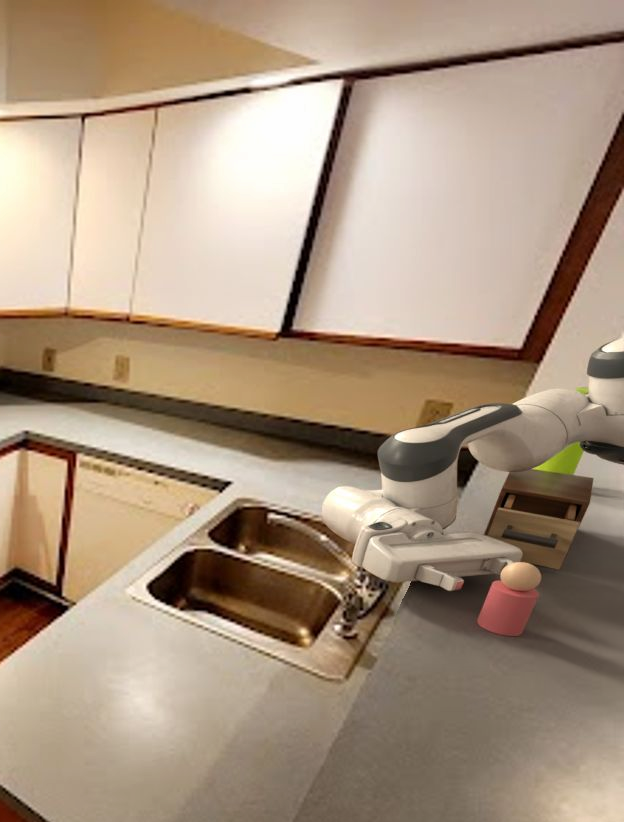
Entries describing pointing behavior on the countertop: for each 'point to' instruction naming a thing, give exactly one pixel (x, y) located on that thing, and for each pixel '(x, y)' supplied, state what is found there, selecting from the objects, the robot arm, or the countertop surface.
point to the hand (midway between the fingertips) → (490, 583)
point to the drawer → (536, 528)
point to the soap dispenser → (565, 455)
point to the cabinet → (547, 490)
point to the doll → (510, 600)
